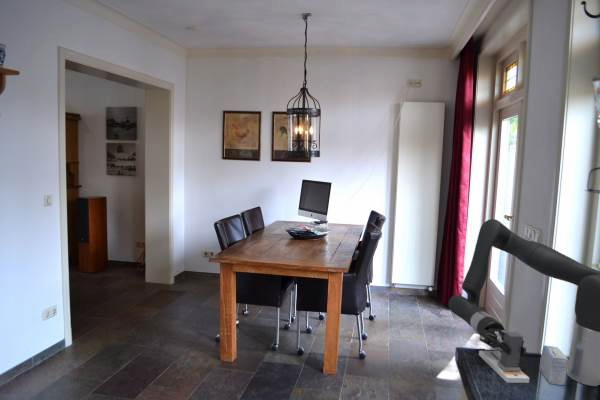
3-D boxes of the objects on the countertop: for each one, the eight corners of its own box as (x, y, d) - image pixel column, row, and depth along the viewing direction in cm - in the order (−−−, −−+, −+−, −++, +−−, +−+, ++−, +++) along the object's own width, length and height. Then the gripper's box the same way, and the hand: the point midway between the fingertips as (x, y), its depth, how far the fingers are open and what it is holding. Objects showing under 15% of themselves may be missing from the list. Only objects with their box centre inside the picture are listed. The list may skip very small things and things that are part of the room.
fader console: (498, 355, 140) (498, 350, 140) (528, 382, 124) (529, 377, 124) (478, 354, 139) (479, 350, 139) (506, 382, 124) (507, 377, 123)
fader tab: (512, 364, 131) (517, 331, 130) (520, 371, 127) (525, 337, 126) (497, 364, 131) (502, 331, 129) (504, 371, 127) (510, 337, 125)
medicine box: (564, 386, 124) (569, 359, 123) (548, 383, 125) (552, 356, 124) (553, 372, 132) (558, 346, 131) (538, 369, 133) (543, 344, 131)
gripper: (468, 315, 141) (497, 339, 124) (507, 316, 142) (541, 341, 125) (465, 336, 142) (493, 363, 125) (504, 337, 143) (537, 364, 126)
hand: (517, 352), depth 125 cm, fingers closed on fader tab, 4 cm apart
